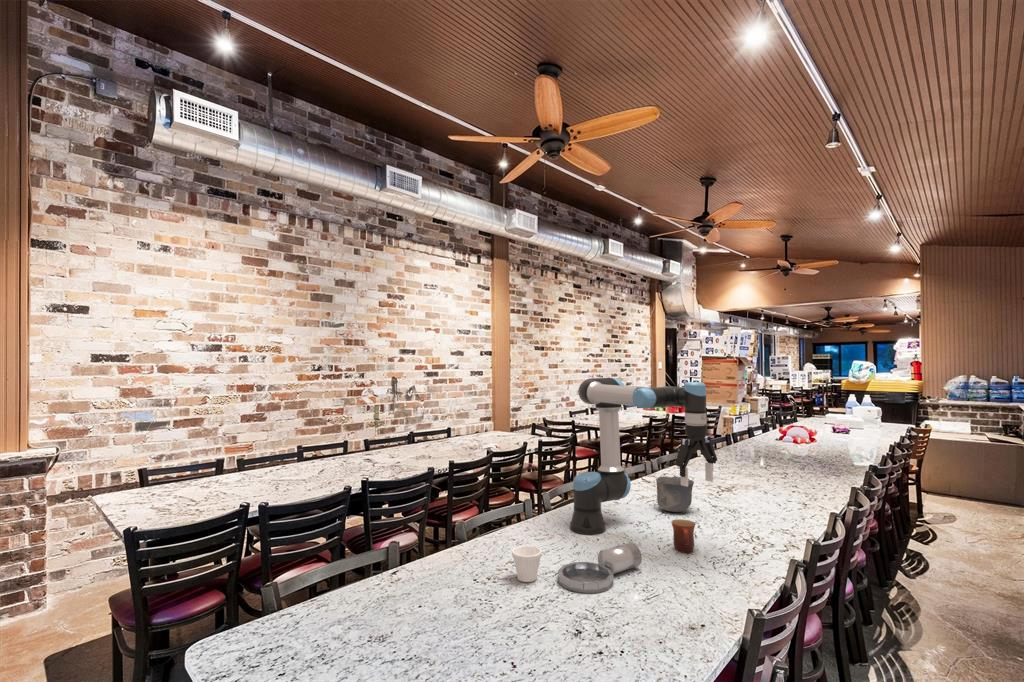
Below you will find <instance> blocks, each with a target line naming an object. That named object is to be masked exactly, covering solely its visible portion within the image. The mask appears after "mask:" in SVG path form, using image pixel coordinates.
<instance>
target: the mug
mask: <svg viewBox="0 0 1024 682" xmlns="http://www.w3.org/2000/svg"><path fill="white" fill-rule="evenodd" d="M671 526H672V531H673V542H672V543H673V547H674V549H675V550H676V551H677V552H679V553H682V554H689V553H692V552H693V551H694V548H695V535H694V532H695V529H696V522H695V521H692V520H688V519H683V518H681V519H680V518H679V519H678V518H677V519H673V520H671Z"/></svg>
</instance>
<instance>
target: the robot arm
mask: <svg viewBox="0 0 1024 682" xmlns="http://www.w3.org/2000/svg"><path fill="white" fill-rule="evenodd" d="M706 386H707V385H706V384H705V383H704V382H701V381H697V382H696V381H687V382H685V383H684V385H683V386H672V385H668V386H667V385H666V386H658V387H657V386H656V387H647V386H646V387H645V386H630V385H625V383H624V382H622V380H621V379H619V378H617V377H599V378H598V377H596V378H595V377H593V378H591V377H590V378H586V379H585V380H583V381H582V382H581V383H580V384H579V386H578V397H579V398H580V400H581V401H582V402H583V403H585V404H588V405H595V409H596V410H597V411H598V415H599V416H598V418H599V421H598V422H599V442H600V443H599V445H600V466H599V467H598V468H597V471H584V472H580V473H579V474H576V475H575V476H574V477H573V484H572V489H573V513H572V517H571V520H570V523H569V530H570V531H571V532H573V533H577V534H581V535H588V536H589V535H593V536H594V535H600V534H603V533H604V532H606V531H607V530H606V528H607V527H606V522H605V519H604V516H603V513H602V503H606V502H611V501H619V500H621V499H624V498H626V497H627V495H629V493H630V491H631V486H632V484H631V479H630V477H629V475H628V474H627V473H626V472H625V468H624V467H623V466H622V465H621V442H620V423H619V422H620V421H619V418H620V417H619V411H620V410H621V409H622V408H623V407H622V405H623V406H632V407H636V408H639V409H647V410H648V409H650V408H651V409H653V408H654V409H655V408H667V407H668V408H669V407H676V408H677V407H680V408H684V423H685V425H684V434H685V435H686V436H687V438H686V439H685V438H681V439H680V446H679V449H678V453H677V456H676V459H675V463H674V464H675V466H676V467H679V477H681V485H682V486H686V487H688V479H689V468H688V467H687V466H688V464H689V463H690V460H691V458H692V456H693V454H694V453H696V452H698V451H699V452H700V453H701V454H702V457H703V458H704V459H705V462H704V467H705V468H704V470H705V475H704V476H705V481H707V482H711V483H712V482H714V464H716V463H717V461H718V457H717V454H716V452H715V451H716V450H715V448H714V446H713V443H712V437H711V436H708V426H707V425H706V424H708V421H707V395H708V394H707V389H706V388H707V387H706Z"/></svg>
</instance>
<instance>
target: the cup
mask: <svg viewBox="0 0 1024 682" xmlns="http://www.w3.org/2000/svg"><path fill="white" fill-rule="evenodd" d="M542 554H543V552H542V549H541V548H539V547H537V546H534V545H519V546H516V547H514V548H513V549H512V550H511V555H512V558H513V562H514V567H515V571H516V574H517V575H516V576H517V579H518V581H519V582H520V583H524V584H525V583H526V584H529V583H533V582H535V581H536V580H537V577H538V576H537V575H538V571H539V568H540V567H539V566H540V563H541V557H542Z"/></svg>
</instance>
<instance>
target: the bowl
mask: <svg viewBox="0 0 1024 682" xmlns="http://www.w3.org/2000/svg"><path fill="white" fill-rule="evenodd" d="M655 481H656V503H657V505H658V506H659V507H660V508H661V509H663V510H664V511H666V512H673V513H681V512H685V511H686V510H688V509H689V508H690V506H691V504H692V499H693V495H692V494H693V487H694V484H695V481H694V480H692V479H690V478H688V487H686V486H682V485H681V476H676V475H675V476H668V475H667V476H663V475H662V476H659V477H657V478H656V479H655Z"/></svg>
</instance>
